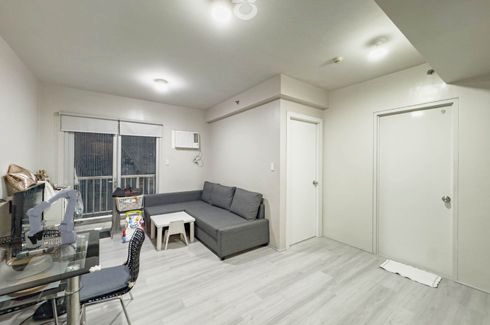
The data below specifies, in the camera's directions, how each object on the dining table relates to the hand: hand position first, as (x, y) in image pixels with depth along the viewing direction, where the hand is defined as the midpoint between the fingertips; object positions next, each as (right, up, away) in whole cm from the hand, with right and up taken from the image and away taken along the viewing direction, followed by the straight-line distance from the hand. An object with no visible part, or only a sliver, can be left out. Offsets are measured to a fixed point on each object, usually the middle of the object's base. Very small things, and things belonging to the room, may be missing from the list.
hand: (37, 242), depth 150 cm
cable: (+1, -8, 0) cm, 8 cm away
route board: (+1, -9, 0) cm, 9 cm away
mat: (-3, -9, +7) cm, 12 cm away
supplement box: (-17, -9, +15) cm, 24 cm away
